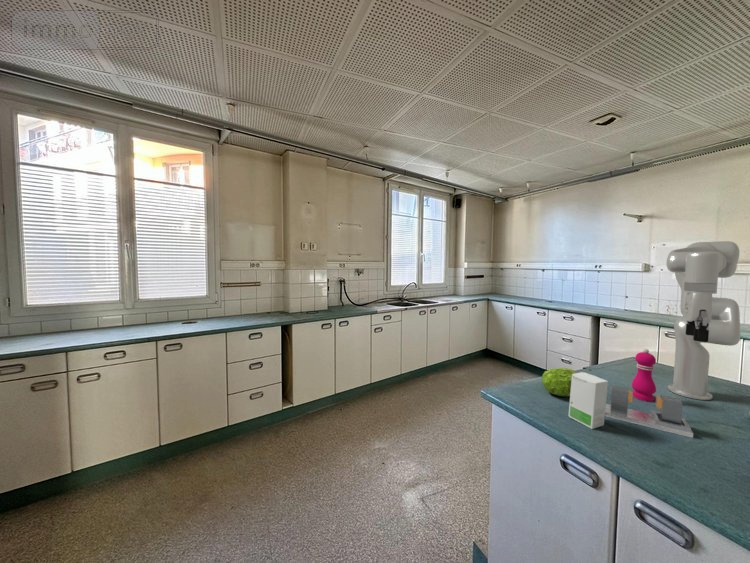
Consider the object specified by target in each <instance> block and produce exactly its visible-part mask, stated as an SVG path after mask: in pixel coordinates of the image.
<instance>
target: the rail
mask: <svg viewBox="0 0 750 563" xmlns="http://www.w3.org/2000/svg"><path fill="white" fill-rule="evenodd" d="M633 398H634V397H633V391H631V390H628V388H627V387H622V386H617V385H612V384H611V385H610V399H609V400H610V402H609V403H610V404H609V403H606V409H605V417H607V418H611V419H614V420H619V421H623V422H627V423H631V424H636V425H638V426H643V427H647V428H651V429H656V430H660V431H664V432H666V433H672V434H676V435H679V436H682V437H687V438H692V439H693V438H694V432H693V431H692V428H691V426H690V424H689V423H688V422H687V420H686V418H685V417H682V419H681V425H677V424H673V423H669V422H664V421H660V418H659V414H660V411H654V410H650V412H651V413H648V412H645V411H639V410H635V409H630V408H628V407H629V406H628V405H629V403H631V404H633Z"/></svg>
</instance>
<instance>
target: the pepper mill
mask: <svg viewBox="0 0 750 563" xmlns="http://www.w3.org/2000/svg"><path fill="white" fill-rule="evenodd" d="M634 359H635V361H636V362H637V363H636V368H637V373H636V375H635V377H634V378H633V379H632V382H631V388H632V389H633V391H632V393H633V398H635V399H638V400H640V401H643V402H654V400H655V396H654V394H655V393H656V392H657V387H656V384H655V382H654V379H653V376H652V373H653V371H654V367H655V366H654V365H655V364H656V362H657V359H656V357H655V356H654V355H653V354H652V353H650V351H649V349H648V348H644V349H643V350H642V352H641V351H640V352H638V353H636V354H635V358H634Z"/></svg>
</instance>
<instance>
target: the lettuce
mask: <svg viewBox="0 0 750 563" xmlns="http://www.w3.org/2000/svg"><path fill="white" fill-rule="evenodd" d="M576 373H578V371H577V372H576V370H573V369H571V368H567V367H559V368H556V367H555V368H552V369H548V370H545V371H544V372H543V374H542V375H541V383H542V386H543V388H544V389H545V390H546V391H547V393H549V394H552V395H555V396H559V397H570V392H571V380H572V374H576Z"/></svg>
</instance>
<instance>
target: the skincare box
mask: <svg viewBox="0 0 750 563" xmlns="http://www.w3.org/2000/svg"><path fill="white" fill-rule="evenodd" d="M608 388H609V381H608V380H606V379H605V378H602V377H598V376H597V375H594V374H590V373H588V372H584V371H581V372H577V373H576V374H572V380H571V392H570V396H569V404H568V406H569V407H568V417H569V418H570V419H572V420H574V421H575V422H578V423H579V424H581V425H584V426H586V427H587V428H589V429H591V430H593V429H597V428H599V427H600V428H601V427H604V425H605V417H606V416H605V409H606V404H607V396H608Z"/></svg>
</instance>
